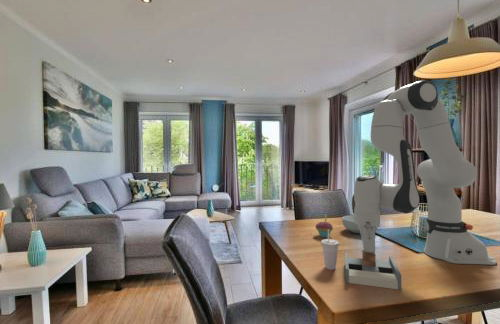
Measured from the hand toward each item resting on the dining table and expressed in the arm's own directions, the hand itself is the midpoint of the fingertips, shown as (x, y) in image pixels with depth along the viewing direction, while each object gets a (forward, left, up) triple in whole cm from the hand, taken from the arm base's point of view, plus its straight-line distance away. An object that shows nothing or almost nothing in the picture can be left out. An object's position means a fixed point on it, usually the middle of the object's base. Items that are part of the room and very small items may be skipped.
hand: (367, 256), depth 98 cm
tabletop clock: (-5, -70, -4) cm, 71 cm away
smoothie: (+13, +5, -4) cm, 15 cm away
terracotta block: (0, +4, -1) cm, 4 cm away
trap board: (0, +8, -4) cm, 9 cm away
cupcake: (+18, -33, -4) cm, 38 cm away
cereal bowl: (+1, -46, -4) cm, 46 cm away
